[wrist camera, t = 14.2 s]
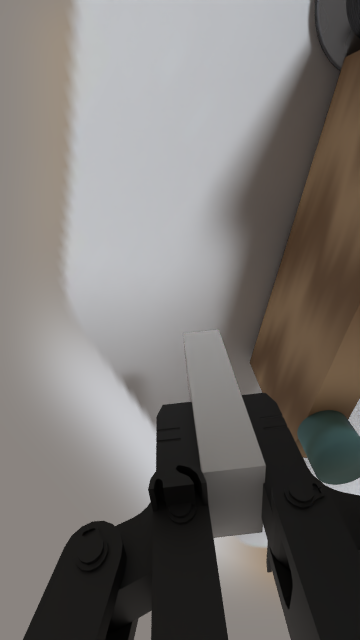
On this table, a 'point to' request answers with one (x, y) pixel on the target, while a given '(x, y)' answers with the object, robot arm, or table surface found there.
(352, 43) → the hinge post
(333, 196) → the gate
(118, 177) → the table surface
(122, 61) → the table surface
